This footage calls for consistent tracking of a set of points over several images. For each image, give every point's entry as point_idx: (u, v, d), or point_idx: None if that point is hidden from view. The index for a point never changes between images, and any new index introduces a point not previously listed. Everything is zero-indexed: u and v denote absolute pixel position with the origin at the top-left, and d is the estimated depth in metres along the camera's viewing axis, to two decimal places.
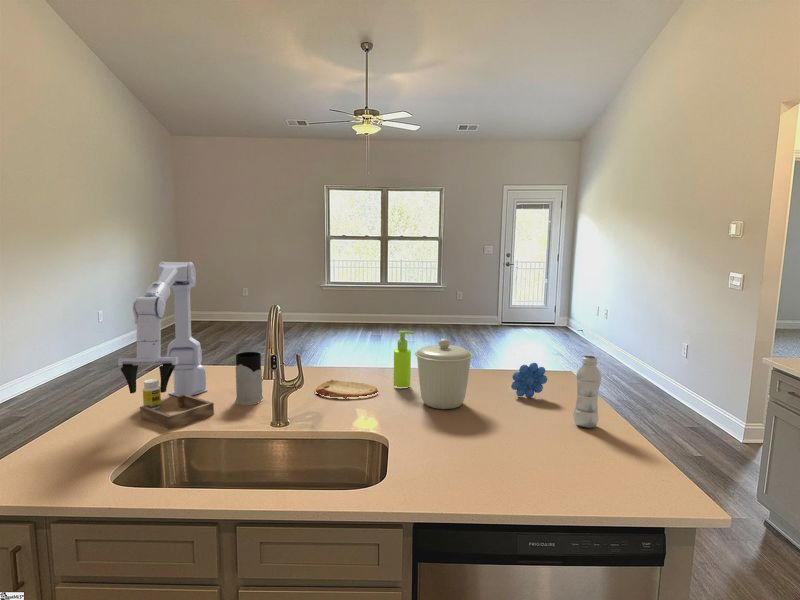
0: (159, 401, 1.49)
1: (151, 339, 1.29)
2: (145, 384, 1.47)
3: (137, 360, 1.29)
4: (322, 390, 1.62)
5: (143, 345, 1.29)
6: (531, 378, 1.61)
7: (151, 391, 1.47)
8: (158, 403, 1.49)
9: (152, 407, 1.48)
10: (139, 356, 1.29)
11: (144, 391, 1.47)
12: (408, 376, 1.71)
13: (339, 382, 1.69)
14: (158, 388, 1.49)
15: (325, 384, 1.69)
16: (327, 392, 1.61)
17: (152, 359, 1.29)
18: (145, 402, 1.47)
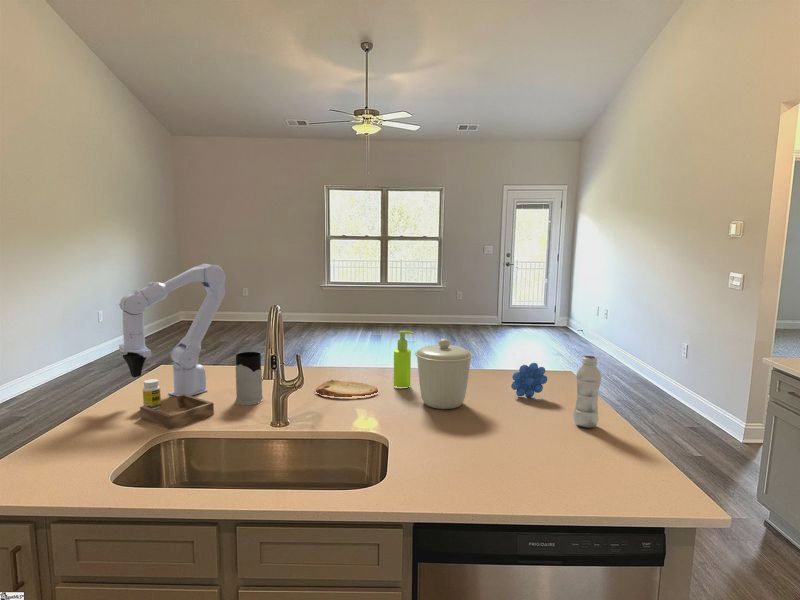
0: (159, 401, 1.49)
1: (126, 333, 1.48)
2: (145, 384, 1.47)
3: None
4: (322, 390, 1.62)
5: (124, 337, 1.49)
6: (531, 378, 1.61)
7: (151, 391, 1.47)
8: (158, 403, 1.49)
9: (152, 407, 1.48)
10: (124, 346, 1.50)
11: (144, 391, 1.47)
12: (408, 376, 1.71)
13: (339, 382, 1.70)
14: (158, 388, 1.49)
15: (325, 384, 1.69)
16: (327, 392, 1.61)
17: (129, 350, 1.49)
18: (145, 402, 1.47)
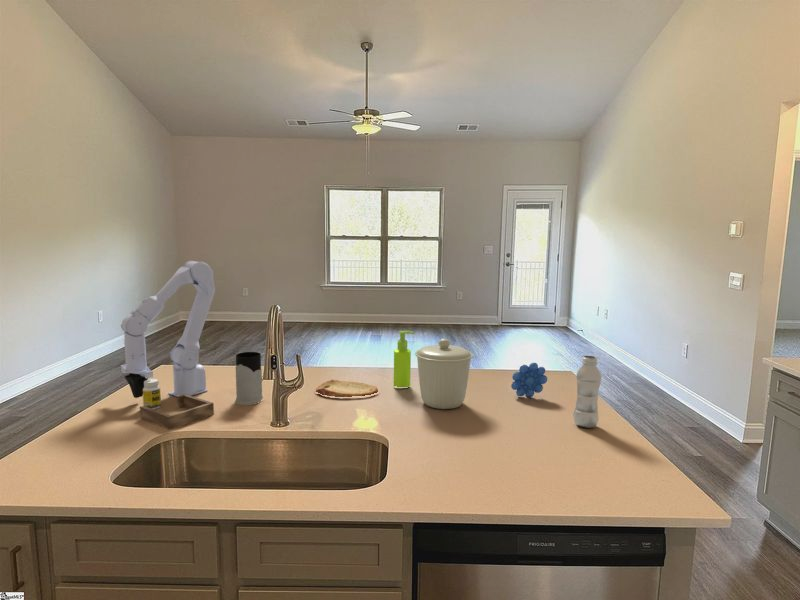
0: (159, 401, 1.49)
1: (128, 354, 1.49)
2: (145, 384, 1.47)
3: (125, 370, 1.51)
4: (322, 390, 1.62)
5: (126, 358, 1.50)
6: (531, 378, 1.61)
7: (151, 391, 1.47)
8: (158, 403, 1.49)
9: (152, 407, 1.48)
10: (125, 367, 1.51)
11: (144, 391, 1.47)
12: (408, 376, 1.71)
13: (339, 382, 1.70)
14: (158, 388, 1.49)
15: (325, 384, 1.69)
16: (327, 392, 1.61)
17: (131, 371, 1.49)
18: (145, 402, 1.47)
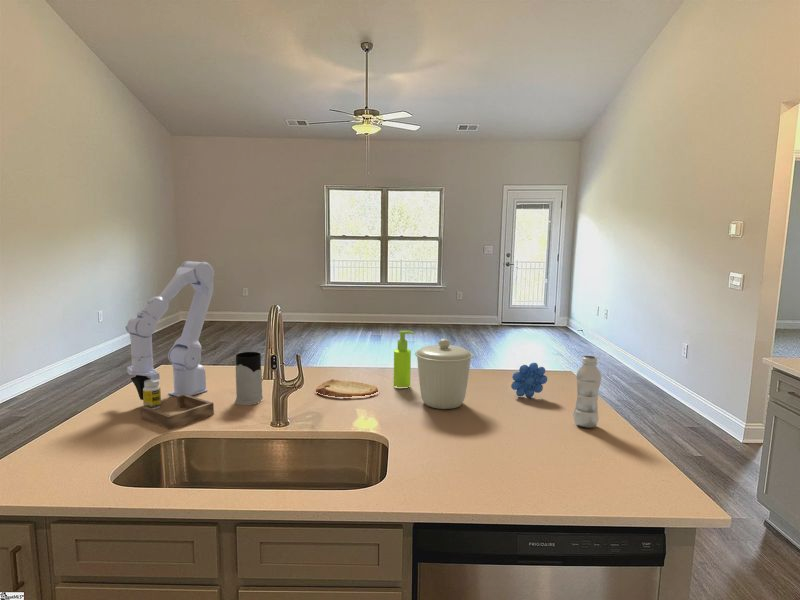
0: (159, 401, 1.49)
1: (136, 356, 1.47)
2: (145, 384, 1.47)
3: (131, 372, 1.49)
4: (322, 389, 1.62)
5: (132, 360, 1.48)
6: (531, 378, 1.61)
7: (152, 391, 1.47)
8: (158, 403, 1.49)
9: (152, 407, 1.48)
10: (132, 369, 1.49)
11: (144, 391, 1.47)
12: (408, 376, 1.71)
13: (339, 382, 1.70)
14: (158, 388, 1.49)
15: (326, 383, 1.69)
16: (327, 391, 1.61)
17: (138, 373, 1.47)
18: (145, 402, 1.47)
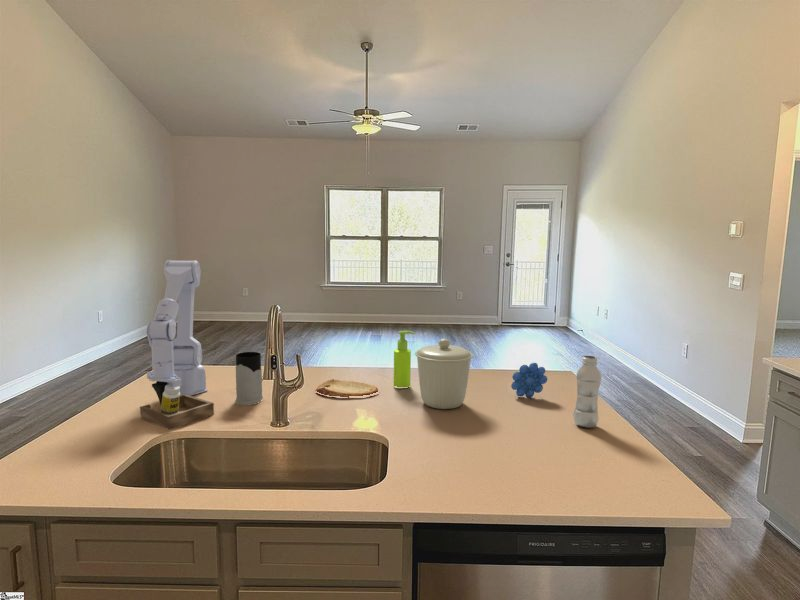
0: (177, 408, 1.44)
1: (165, 361, 1.42)
2: (166, 390, 1.41)
3: (151, 378, 1.43)
4: (322, 389, 1.63)
5: (153, 366, 1.42)
6: (531, 378, 1.61)
7: (171, 399, 1.41)
8: (175, 410, 1.43)
9: (169, 413, 1.42)
10: (152, 375, 1.43)
11: (163, 396, 1.41)
12: (408, 376, 1.71)
13: (340, 381, 1.70)
14: (178, 396, 1.43)
15: (326, 383, 1.70)
16: (327, 391, 1.62)
17: (159, 379, 1.41)
18: (163, 407, 1.42)
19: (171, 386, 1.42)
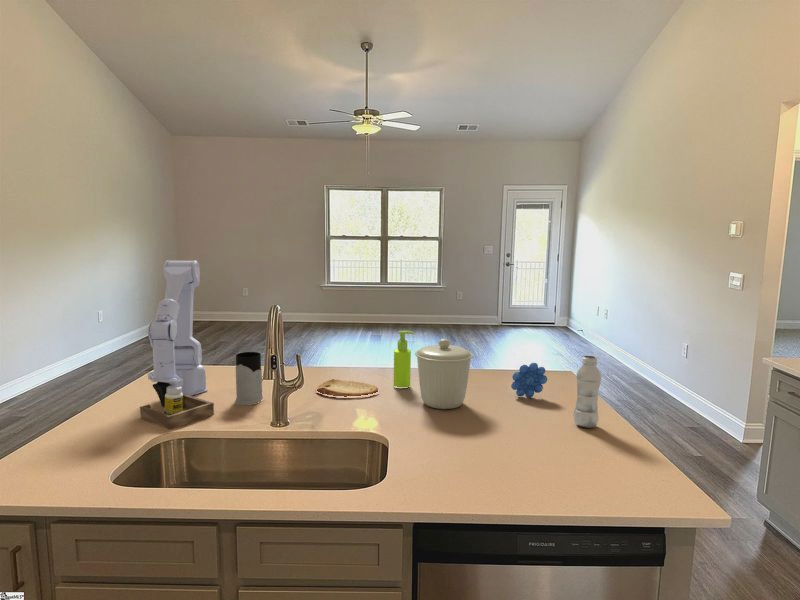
0: (180, 409, 1.43)
1: (166, 361, 1.41)
2: (167, 391, 1.40)
3: None
4: (323, 389, 1.63)
5: (154, 366, 1.42)
6: (531, 378, 1.61)
7: (173, 399, 1.40)
8: (179, 411, 1.42)
9: None
10: (154, 375, 1.43)
11: (166, 398, 1.41)
12: (408, 376, 1.71)
13: (340, 381, 1.70)
14: (180, 396, 1.42)
15: (326, 383, 1.70)
16: (327, 391, 1.62)
17: (160, 380, 1.41)
18: (166, 409, 1.41)
19: (173, 387, 1.42)
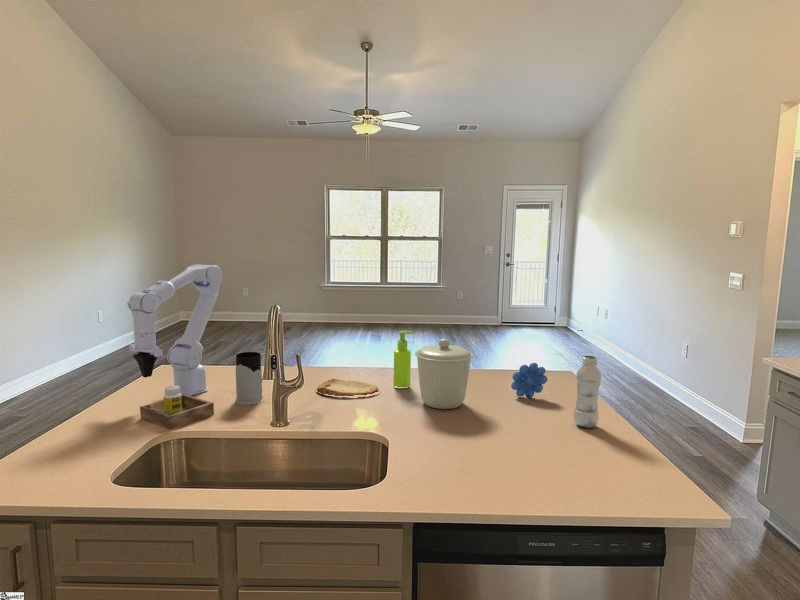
0: (180, 409, 1.43)
1: (141, 332, 1.45)
2: (165, 391, 1.41)
3: None
4: (323, 389, 1.63)
5: (135, 337, 1.46)
6: (531, 378, 1.61)
7: (172, 398, 1.41)
8: (179, 411, 1.42)
9: None
10: (134, 346, 1.47)
11: (164, 398, 1.41)
12: (408, 376, 1.71)
13: (340, 381, 1.71)
14: (179, 395, 1.42)
15: (326, 383, 1.70)
16: (328, 391, 1.62)
17: (140, 350, 1.45)
18: (165, 409, 1.41)
19: (171, 387, 1.43)
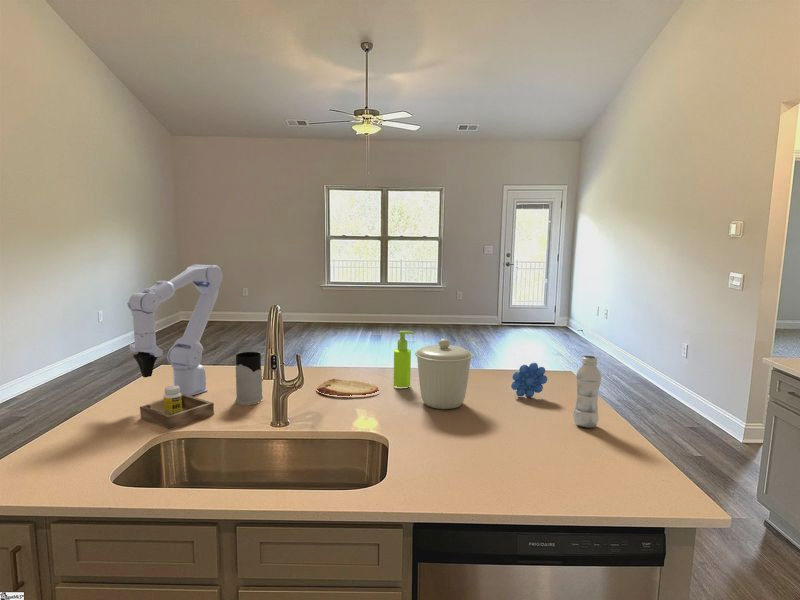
0: (180, 409, 1.43)
1: (141, 332, 1.45)
2: (165, 391, 1.41)
3: None
4: (323, 388, 1.64)
5: (135, 337, 1.46)
6: (531, 378, 1.61)
7: (172, 398, 1.41)
8: (179, 411, 1.42)
9: None
10: (134, 346, 1.47)
11: (164, 398, 1.41)
12: (408, 376, 1.71)
13: (341, 381, 1.71)
14: (179, 395, 1.42)
15: (327, 383, 1.70)
16: (328, 390, 1.62)
17: (140, 350, 1.45)
18: (165, 409, 1.41)
19: (171, 387, 1.43)
